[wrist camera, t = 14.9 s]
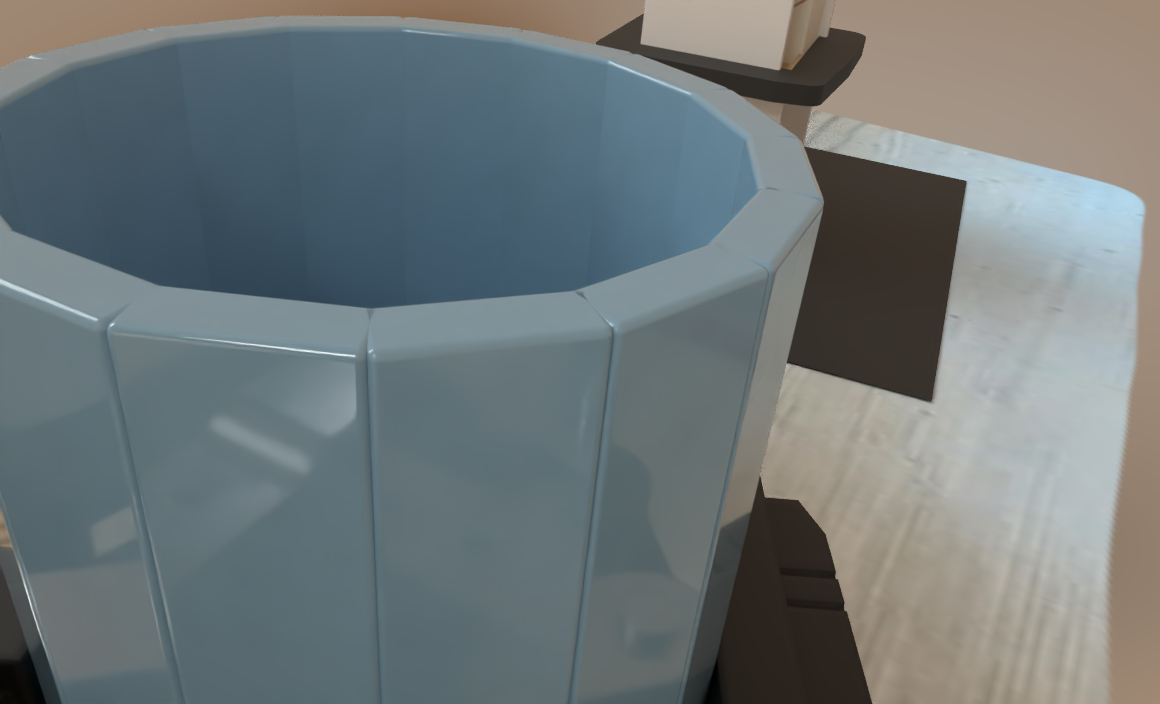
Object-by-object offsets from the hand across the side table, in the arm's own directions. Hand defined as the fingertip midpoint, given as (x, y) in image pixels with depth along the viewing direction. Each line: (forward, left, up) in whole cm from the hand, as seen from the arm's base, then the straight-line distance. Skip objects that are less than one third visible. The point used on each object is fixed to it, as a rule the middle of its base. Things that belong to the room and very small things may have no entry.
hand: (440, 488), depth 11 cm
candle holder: (+38, -5, -13) cm, 40 cm away
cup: (-3, 0, -8) cm, 8 cm away
